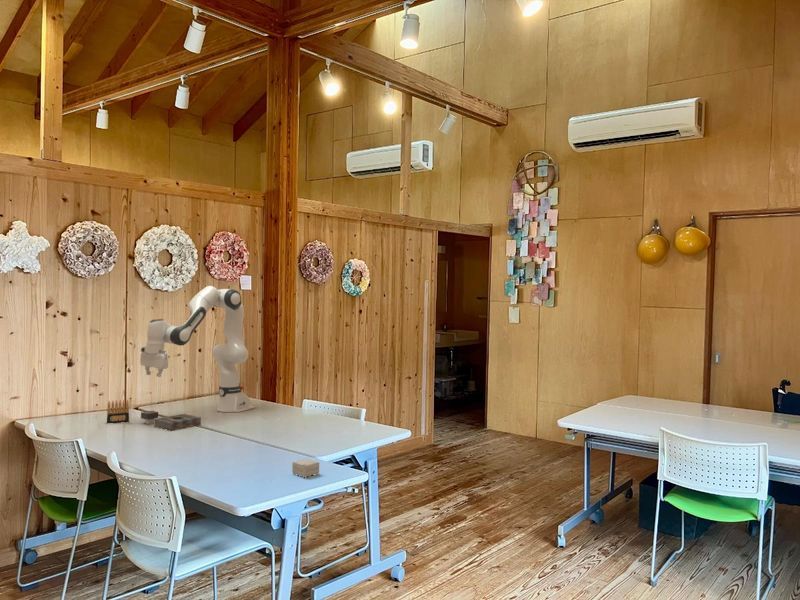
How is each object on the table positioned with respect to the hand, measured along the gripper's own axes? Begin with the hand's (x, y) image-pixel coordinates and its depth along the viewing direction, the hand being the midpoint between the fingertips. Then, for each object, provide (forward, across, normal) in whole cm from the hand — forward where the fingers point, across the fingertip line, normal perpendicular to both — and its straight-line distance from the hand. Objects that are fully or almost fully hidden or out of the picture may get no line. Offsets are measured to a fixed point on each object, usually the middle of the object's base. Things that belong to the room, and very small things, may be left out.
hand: (153, 375), depth 333 cm
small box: (+26, -123, +11) cm, 127 cm away
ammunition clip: (+26, +14, +10) cm, 31 cm away
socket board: (+25, -16, -6) cm, 30 cm away
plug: (+25, 0, 0) cm, 25 cm away
